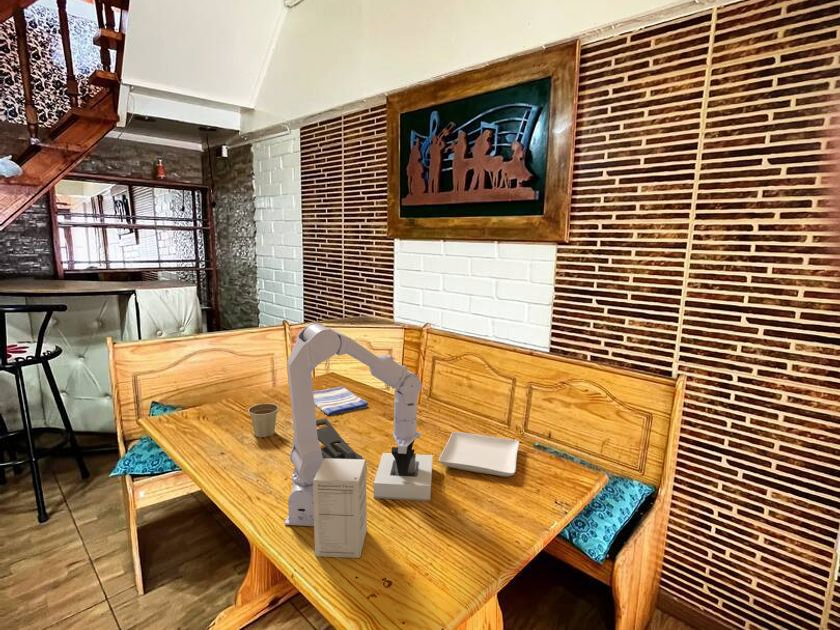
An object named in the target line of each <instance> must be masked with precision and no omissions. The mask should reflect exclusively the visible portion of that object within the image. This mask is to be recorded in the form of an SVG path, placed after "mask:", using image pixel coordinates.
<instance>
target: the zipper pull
mask: <svg viewBox="0 0 840 630" xmlns="http://www.w3.org/2000/svg"><path fill="white" fill-rule="evenodd" d="M324 425H325V426H324ZM316 426H317V427H319V426H324V427H321V428H317V437H318V441H319V443H320V444H322V445H323V446H324V448H321V450H322V456H323V458H328V459H364V458H363V456H362V455H361V454H359V453H357V452H356V451H354V449H352V447H351V446H350V445H349V444H348V443H347V442H345V440H344V439H343V438H342V437H341V435H340V434H339V433H338V431H337V430H336V429H335V428H334V426H333V425H332V423H331V422H329V420H328V419H327V418H322V419H316Z"/></svg>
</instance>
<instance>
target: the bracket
mask: <svg viewBox="0 0 840 630" xmlns="http://www.w3.org/2000/svg"><path fill="white" fill-rule="evenodd" d="M416 454H417V453H415V452H414V454H413V456H412V458H411V460H410V464H409V469H408V473H407V475H399V474H398V470H397V465H396V461H395V476H412V477H416V470H415V467H416Z"/></svg>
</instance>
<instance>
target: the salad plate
mask: <svg viewBox="0 0 840 630" xmlns="http://www.w3.org/2000/svg"><path fill="white" fill-rule="evenodd" d="M519 447H520V441H519V440H516V439H509V438H503V437H496V436H490V435H483V434H476V433H467V432H461V431H453V432H451V434H450V436H449V438H448V441H447V443H446V444H445V446H444V448H443V450H442V452H441V454H440V455H439V457H438V462H439V463H441V464H442V465H443V466H446V467H449V468H453V469H457V470H462V471H468V472H473V473H480V474H486V475H494V476H497V477H498V476H499V477H511V476H513V475H515V473H516V471H517V457H518V453H519V452H518V451H519Z"/></svg>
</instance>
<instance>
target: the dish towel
mask: <svg viewBox="0 0 840 630" xmlns="http://www.w3.org/2000/svg"><path fill="white" fill-rule="evenodd" d="M313 396H314V406H315V407H316V408H318V409H319V410H320V411H321V410H322V411H321V412H323V413H324V414H325V415H327V416H334V415H339V414H345V413H349V411H350V412H354V410H355V411H359V410H364V409H368V405H369V403H368V402H367V400H365V399H362V398H361V397H359V396H357V395H355V394H354V393H353V392H352V391H351V390H349V389H347V388H345V387H344V385H342V386H338V387H333V388H325V389H321V390H315V391H314V390H313ZM363 408H364V409H363ZM358 409H359V410H358Z"/></svg>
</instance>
